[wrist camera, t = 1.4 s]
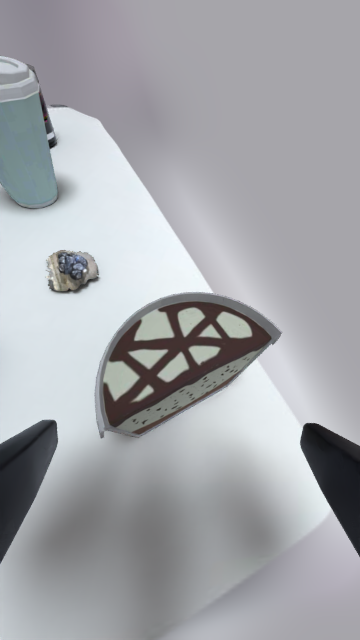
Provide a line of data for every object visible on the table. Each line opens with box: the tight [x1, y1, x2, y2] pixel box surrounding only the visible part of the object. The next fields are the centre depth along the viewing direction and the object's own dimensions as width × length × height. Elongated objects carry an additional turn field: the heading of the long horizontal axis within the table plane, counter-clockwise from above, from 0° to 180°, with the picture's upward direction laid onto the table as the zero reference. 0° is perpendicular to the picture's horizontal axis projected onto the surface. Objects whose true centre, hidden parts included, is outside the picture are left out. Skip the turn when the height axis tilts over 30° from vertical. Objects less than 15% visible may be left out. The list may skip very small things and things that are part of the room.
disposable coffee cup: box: [0, 56, 58, 208], centre depth 29 cm, size 11×11×15 cm
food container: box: [95, 292, 282, 438], centre depth 18 cm, size 12×6×10 cm, turn 119°
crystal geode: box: [45, 250, 99, 291], centre depth 27 cm, size 7×8×2 cm
